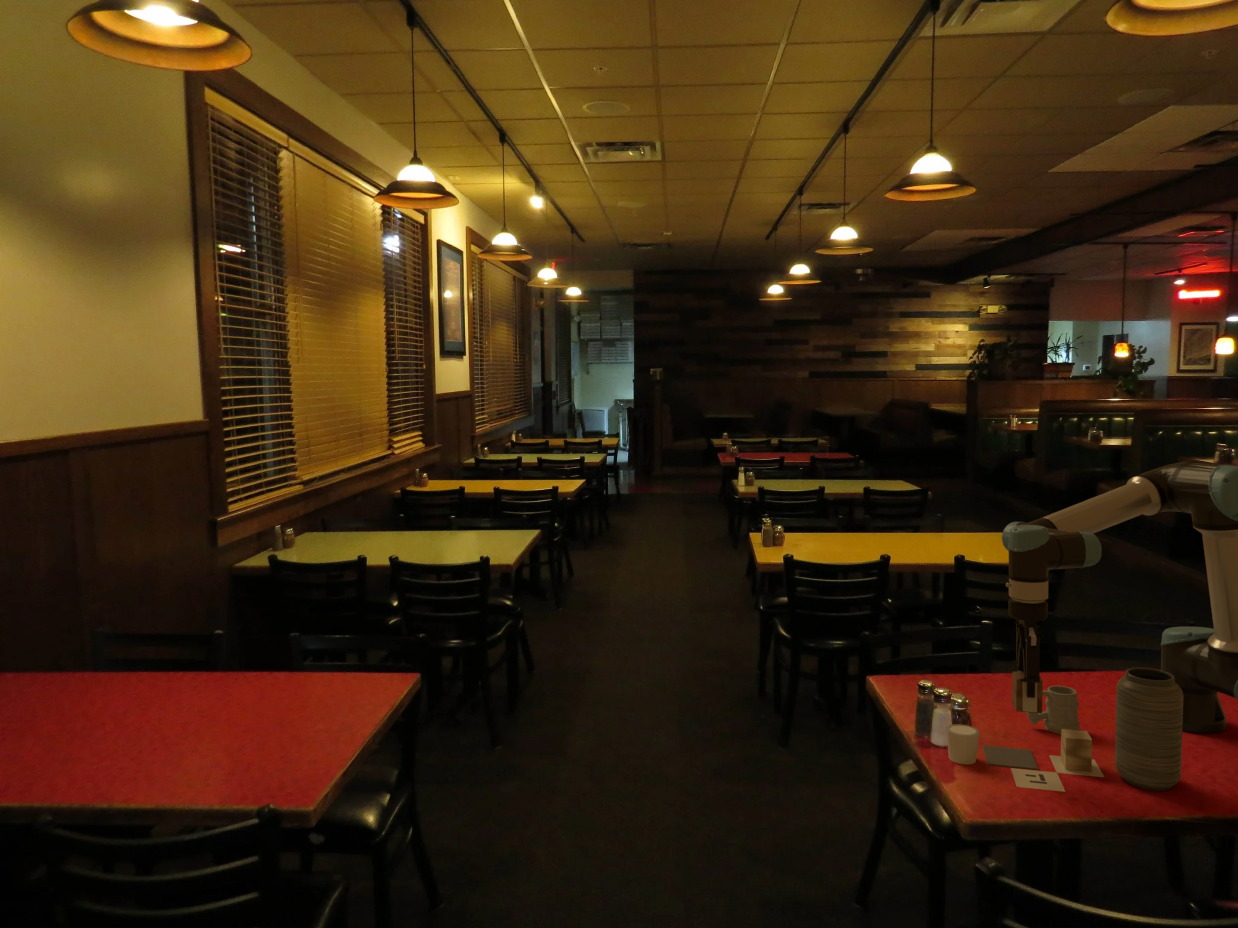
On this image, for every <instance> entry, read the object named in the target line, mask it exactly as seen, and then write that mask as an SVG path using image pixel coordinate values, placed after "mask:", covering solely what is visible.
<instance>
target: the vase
mask: <svg viewBox="0 0 1238 928" xmlns="http://www.w3.org/2000/svg"><path fill="white" fill-rule="evenodd" d="M1115 702H1116V703H1115V742H1114V743H1115V745H1114V748H1115V749H1114V751H1115V754H1114V766H1115V769H1116V771H1117V772H1118V774H1119V775H1120V776H1121V777H1122V779H1123V780H1124V781H1125V782H1126V783H1128V784H1129V785H1131V786H1134V787H1136V788H1140V789H1144V790H1149V791H1159V792H1160V791H1161V792H1162V791H1167V790H1170V789H1172V788H1173V787H1174V786H1175V785H1177V784H1178V783H1179V781H1180V780H1181V778H1182V758H1183V757H1182V755H1183V753H1182V750H1183V730H1182V725H1183V691H1182V689H1181V688H1180V686H1179V685H1178V684H1177V683H1175V677H1174V676H1173V675H1172V674H1170V673H1168V672H1165V671H1162V670H1161V669H1156V668H1152V667H1130V668H1127V669H1126V670H1125V673H1124V676H1122V677H1120V679H1119V680H1118V682H1117V684H1116V701H1115Z"/></svg>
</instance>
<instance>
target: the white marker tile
mask: <svg viewBox="0 0 1238 928" xmlns="http://www.w3.org/2000/svg"><path fill="white" fill-rule="evenodd" d="M1010 770H1011V774H1012V776H1013V779H1014V782H1015V786H1016V788H1022V789H1023V788H1024V789H1025V788H1026V789H1035V790H1036V789H1037V790H1044V791H1055V792H1063V793H1065V792H1066V790H1065V788H1064V785H1063V783H1062V780H1061V777H1059V775H1058V774H1059V773H1057V772H1056V771H1054V772H1053V771H1044V770H1043V771H1042V770H1033V769H1023V768H1013V767H1010Z"/></svg>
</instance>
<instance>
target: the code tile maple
mask: <svg viewBox="0 0 1238 928" xmlns="http://www.w3.org/2000/svg"><path fill="white" fill-rule="evenodd" d="M1048 756H1049V758H1050V760H1051V762H1052V765H1053V767H1054V769H1055V772H1056V773H1057V774H1065V775H1066V774H1067V775H1075V776H1084V777H1085V776H1087V777H1096V778H1097V777H1098V778H1105V775H1104V774H1103V772H1102V771H1101V769H1100V767H1099V766H1098V764H1097V762H1096V760H1095V759H1093V758H1092V772H1086V771H1076V770H1065V768H1064V766H1063V763H1062V761H1061V755H1060V756H1059V755H1048Z"/></svg>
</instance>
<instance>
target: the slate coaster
mask: <svg viewBox="0 0 1238 928" xmlns="http://www.w3.org/2000/svg"><path fill="white" fill-rule="evenodd" d="M982 749H983V753H984V756H985V760H986V764H987V766H995V767H1004V768H1015V769H1025V770H1035V771H1039V766H1038V764H1037V762H1036V760H1035V757H1034V755H1033V752H1032V750H1031V749H1029V748H1028V749H1026V748H1018V747H1017V748H1016V747H1007V746H1006V747H1004V746H995V745H994V746H993V745H984V744H983V745H982Z"/></svg>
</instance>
